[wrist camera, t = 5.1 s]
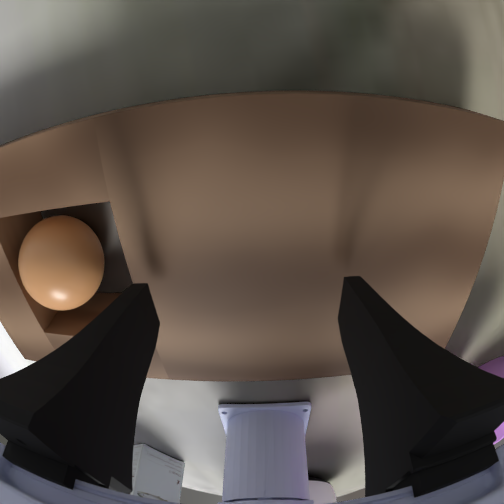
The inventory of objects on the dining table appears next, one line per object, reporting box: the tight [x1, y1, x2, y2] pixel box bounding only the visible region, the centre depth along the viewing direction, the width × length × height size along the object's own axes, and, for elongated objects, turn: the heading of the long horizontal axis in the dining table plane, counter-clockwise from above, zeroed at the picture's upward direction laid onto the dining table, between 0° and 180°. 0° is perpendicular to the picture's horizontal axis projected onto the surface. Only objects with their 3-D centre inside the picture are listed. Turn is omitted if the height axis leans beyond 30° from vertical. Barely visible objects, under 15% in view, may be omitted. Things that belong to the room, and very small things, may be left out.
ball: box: [18, 215, 105, 310], centre depth 14 cm, size 5×5×5 cm
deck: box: [0, 90, 504, 381], centre depth 14 cm, size 14×28×4 cm, turn 93°
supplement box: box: [130, 444, 185, 503], centre depth 28 cm, size 7×7×13 cm
